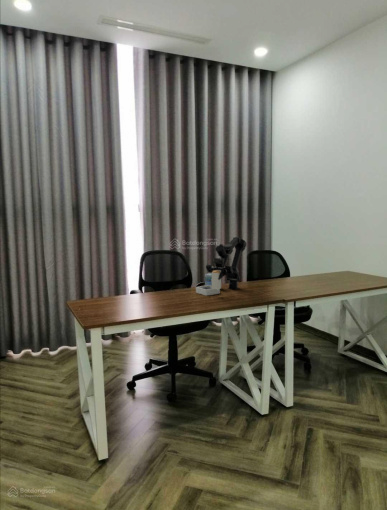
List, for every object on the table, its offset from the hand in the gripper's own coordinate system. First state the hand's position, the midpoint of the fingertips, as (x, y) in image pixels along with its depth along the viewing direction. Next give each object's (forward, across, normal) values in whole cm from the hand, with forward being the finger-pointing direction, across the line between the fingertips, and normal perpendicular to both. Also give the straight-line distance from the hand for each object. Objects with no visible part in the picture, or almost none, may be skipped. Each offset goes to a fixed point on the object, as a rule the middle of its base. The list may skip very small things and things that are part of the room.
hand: (215, 279), depth 245 cm
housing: (+3, -10, +14) cm, 18 cm away
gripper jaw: (+4, 0, +6) cm, 7 cm away
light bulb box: (-8, -14, +25) cm, 30 cm away
